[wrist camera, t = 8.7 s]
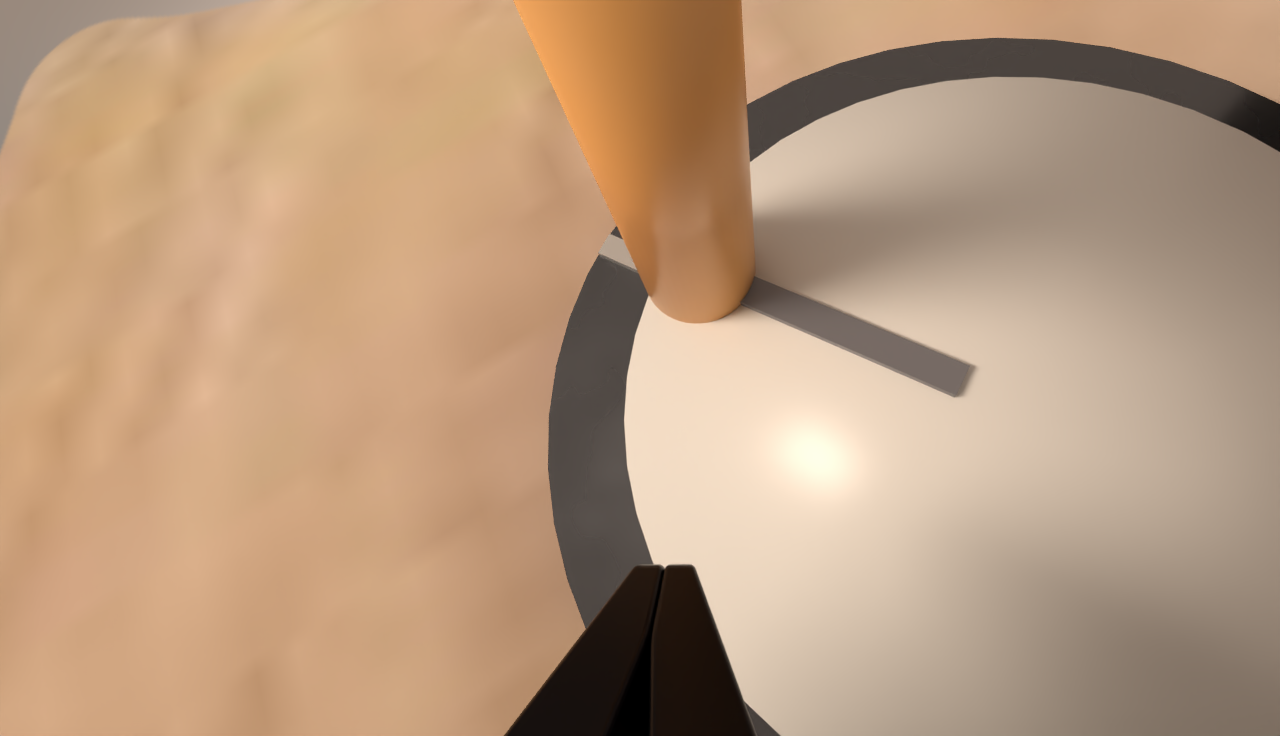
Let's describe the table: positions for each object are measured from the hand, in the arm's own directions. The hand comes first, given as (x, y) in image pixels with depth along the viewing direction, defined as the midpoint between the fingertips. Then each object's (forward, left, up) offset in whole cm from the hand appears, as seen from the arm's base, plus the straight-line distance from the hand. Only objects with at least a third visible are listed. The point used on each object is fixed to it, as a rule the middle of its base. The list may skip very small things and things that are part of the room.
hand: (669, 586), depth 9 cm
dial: (+1, -8, -7) cm, 11 cm away
